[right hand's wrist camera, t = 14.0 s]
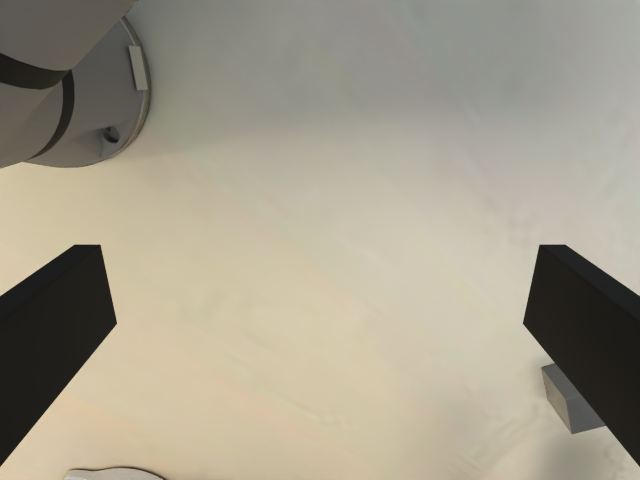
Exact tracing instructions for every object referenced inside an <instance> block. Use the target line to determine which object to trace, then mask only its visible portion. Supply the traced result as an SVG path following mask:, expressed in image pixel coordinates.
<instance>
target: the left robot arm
mask: <svg viewBox="0 0 640 480" xmlns="http://www.w3.org/2000/svg"><path fill="white" fill-rule="evenodd" d="M63 480H163V479H161V478H159V477H157V476H155V475H153V474H150V473H148V472H144V471H141V470H136V469H129V468H112V469H106V470H100V471H86V470H70V471H68V472H67V473H66V475H65V477H64V479H63Z"/></svg>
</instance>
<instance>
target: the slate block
mask: <svg viewBox="0 0 640 480" xmlns="http://www.w3.org/2000/svg"><path fill="white" fill-rule="evenodd" d="M542 373H543V378H544V383H545V388H546V393H547V398H548V401H549V402H550V404H551V405H552V407H553V408H554V409H555V411H556V412H557V414H558V415H559V416H560V418H561V419H562V421H563V422H564V424H565V425H566V426H567V428H568V429H569V431H570V432H571V434H575V433H579V432H583V431H587V430H591V429H595V428H599V427H603V426H606V425H605V424H604V422H603V421H602V420H601V419H600V417H599V416H598V415H597V414H596V413H595V411H594V410H593V409H592V408H591V406H590V405H589V404H588V403H587V401H586V400H585V399H584V398H583V397H582V395H581V394H580V393H579V392H578V390H577V389H576V388H575V387H574V386H573V384H572V383H571V382H570V381H569V379H568V378H567V377H566V376H565V374H564V373H563V372H562V371H561V370H560V368H559V367H558V366H557V365H556V364H552V365H548V366H545V367H542Z"/></svg>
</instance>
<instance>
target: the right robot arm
mask: <svg viewBox="0 0 640 480" xmlns="http://www.w3.org/2000/svg"><path fill="white" fill-rule="evenodd" d="M137 1H138V0H0V168H3V167H7V166H10V165H13V164H16V163H20V162H26V163H32V164H38V165H44V166H50V167H59V168H73V167H83V166H88V165H92V164H95V163H98V162H101V161H103V160H106V159H108V158H110V157H112V156H114V155H116V154H118V153H119V152H121V151H122V150H123V149H125V148H126V147H127V146H128V145H129V144H130V143H131V142H132V141H133V140H134V138H135V137H136V136H137V134H138V133H139V131H140V129H141V128H142V126H143V124H144V121H145V119H146V116H147V112H148V108H149V103H150V94H151V83H150V73H149V68H148V63H147V60H146V56H145V53H144V51H143V48H142V45H141V43H140V41H139V39H138V37H137V35H136V33H135V31H134V30H133V28H132V26H131V25H130V23H129V22H128V20H127V19H126V17H125V16H124V15H125V13H126V12H127V11H128V10H129V9H130V8H131V7H132V6H133V5H134V4H135V3H136V2H137ZM116 324H117V321H116V316H115V311H114V307H113V302H112V297H111V293H110V288H109V283H108V278H107V274H106V269H105V264H104V259H103V255H102V250H101V245H74V246H72V247H71V248H69V249H68V250H66V251H65V252H63V253H62V254H61V255H59V256H58V257H56V258H55V259H53V260H52V261H50V262H49V263H48V264H46V265H45V266H43V267H42V268H40V269H39V270H38V271H36V272H35V273H33V274H32V275H30V276H29V277H27V278H26V279H25V280H23V281H22V282H20V283H19V284H17V285H16V286H14V287H13V288H12V289H10V290H9V291H7V292H6V293H4V294H3V295H1V296H0V466H1V465H2V464H3V463H4V462H5V460H6V459H7V458H8V457H9V455H10V454H11V453H12V452H13V451H14V449H15V448H16V447H17V446H18V444H19V443H20V442H21V441H22V439H23V438H24V437H25V436H26V435H27V433H28V432H29V431H30V430H31V428H32V427H33V426H34V425H35V424H36V422H37V421H38V420H39V419H40V417H41V416H42V415H43V414H44V413H45V411H46V410H47V409H48V408H49V406H50V405H51V404H52V403H53V401H54V400H55V399H56V398H57V397H58V395H59V394H60V393H61V392H62V390H63V389H64V388H65V387H66V386H67V384H68V383H69V382H70V381H71V379H72V378H73V377H74V376H75V374H76V373H77V372H78V371H79V370H80V368H81V367H82V366H83V365H84V363H85V362H86V361H87V360H88V359H89V357H90V356H91V355H92V354H93V352H94V351H95V350H96V349H97V348H98V346H99V345H100V344H101V343H102V341H103V340H104V339H105V338H106V336H107V335H108V334H109V333H110V332H111V330H112V329H113V328H114V327H115V325H116ZM523 324H524V325H525V327H526V328H527V329H528V330H529V332H530V333H531V334H532V335H533V336H534V338H535V339H536V340H537V341H538V343H539V344H540V345H541V346H542V348H543V349H544V350H545V351H546V352H547V354H548V355H549V356H550V357H551V359H552V360H553V361H554V362H555V363H556V365H557V366H558V367H559V368H560V370H561V371H562V372H563V373H564V374H565V376H566V377H567V378H568V379H569V381H570V382H571V383H572V384H573V386H574V387H575V388H576V389H577V390H578V392H579V393H580V394H581V395H582V397H583V398H584V399H585V400H586V401H587V403H588V404H589V405H590V406H591V408H592V409H593V410H594V411H595V413H596V414H597V415H598V416H599V417H600V419H601V420H602V421H603V422H604V424H605V425H606V426H607V427H608V428H609V430H610V431H611V432H612V433H613V435H614V436H615V437H616V438H617V439H618V441H619V442H620V443H621V444H622V446H623V447H624V448H625V449H626V451H627V452H628V453H629V454H630V455H631V457H632V458H633V459H634V460H635V462H636V463H637V464H638V465H639V466H640V296H639V295H637V294H636V293H634V292H633V291H631V290H630V289H628V288H627V287H626V286H624V285H623V284H621V283H620V282H618V281H617V280H615V279H614V278H613V277H611V276H610V275H608V274H607V273H605V272H604V271H602V270H601V269H600V268H598V267H597V266H595V265H594V264H592V263H591V262H590V261H588V260H587V259H585V258H584V257H582V256H581V255H579V254H578V253H577V252H575V251H574V250H572V249H571V248H569V247H568V246H566V245H539V250H538V255H537V259H536V264H535V269H534V274H533V278H532V283H531V288H530V293H529V297H528V302H527V307H526V311H525V316H524V321H523Z"/></svg>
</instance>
